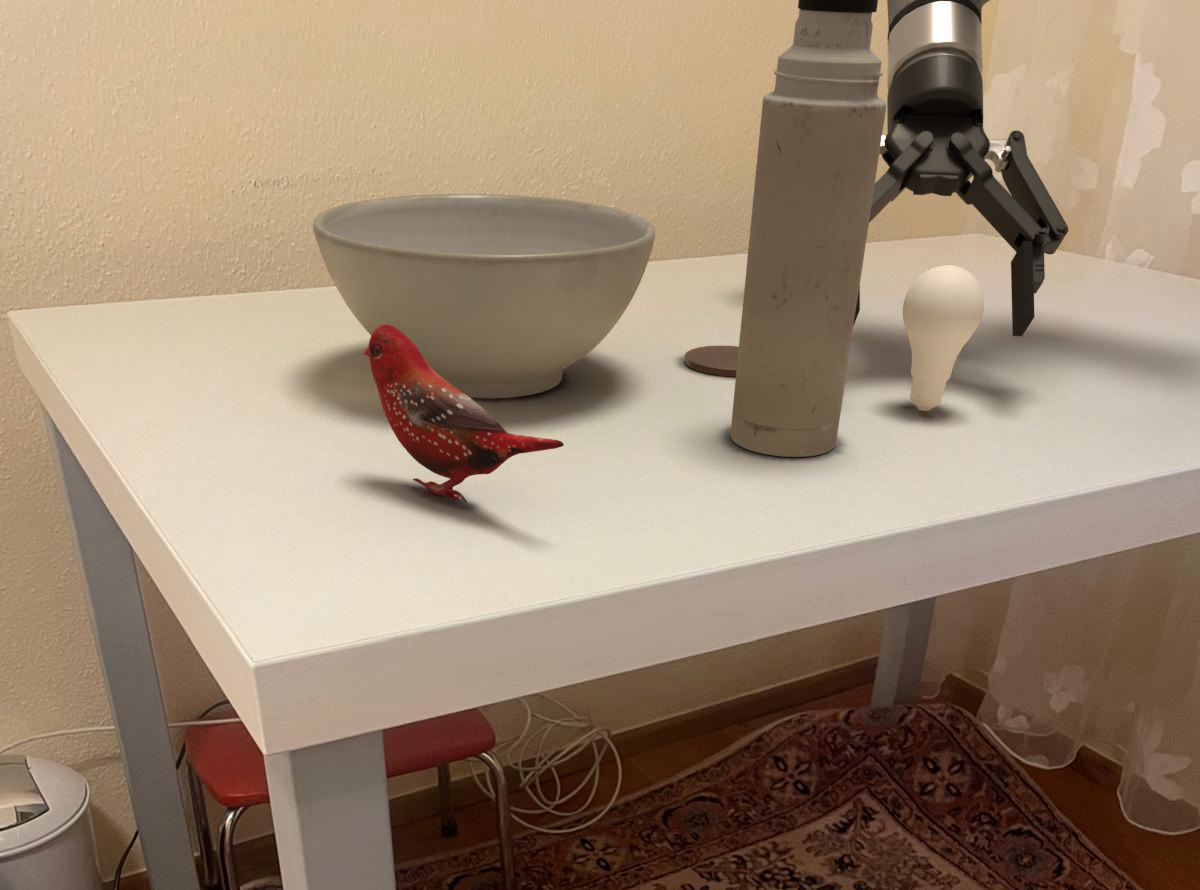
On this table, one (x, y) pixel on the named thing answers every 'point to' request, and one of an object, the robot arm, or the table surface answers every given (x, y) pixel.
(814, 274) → the thermos bottle
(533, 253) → the decorative bowl
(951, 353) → the lightbulb
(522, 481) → the table surface
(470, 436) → the decorative bird figurine
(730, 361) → the walnut coaster
